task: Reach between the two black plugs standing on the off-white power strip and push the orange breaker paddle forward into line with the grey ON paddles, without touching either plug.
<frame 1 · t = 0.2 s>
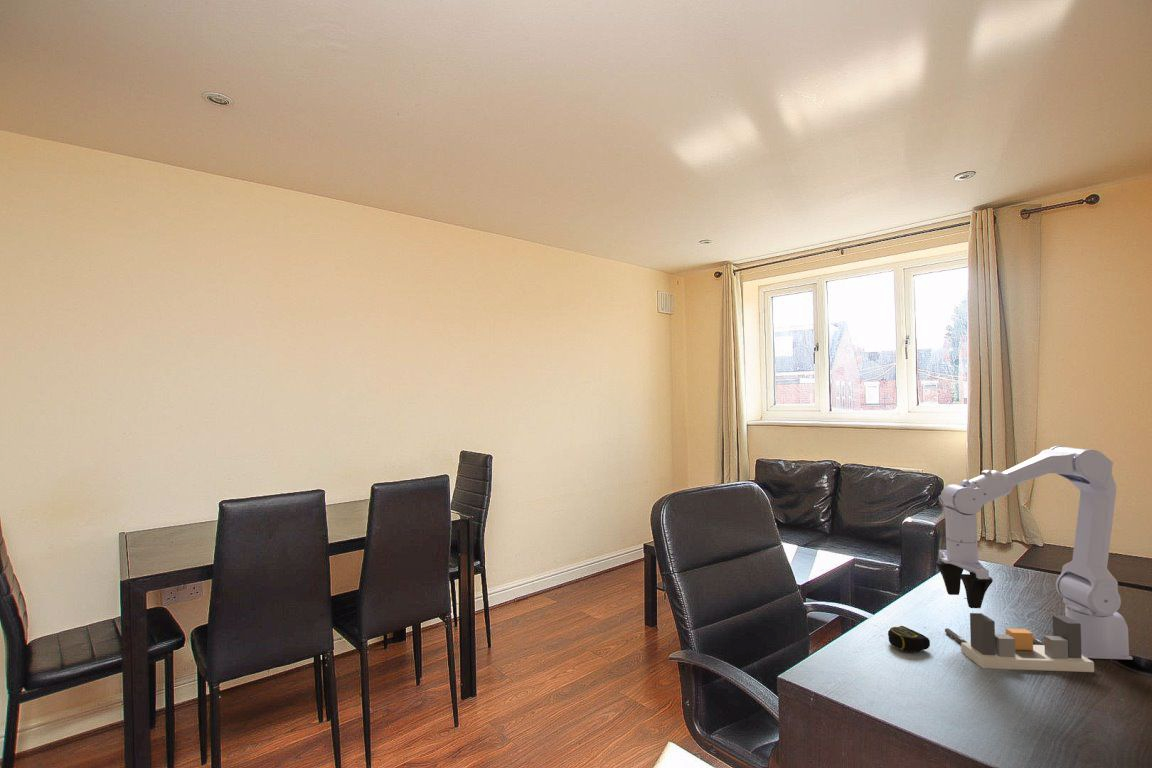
hand: (963, 600, 119), 10 cm above the table, fingers open, 7 cm apart
tape measure: (907, 648, 119), on the table
near plug: (1067, 653, 111), point 2 cm above the table, touching power strip
far plug: (982, 650, 113), point 2 cm above the table, touching power strip
power strip: (1025, 661, 112), on the table
breaker paddle: (1019, 639, 113), point 4 cm above the table, slide at 0.0 cm
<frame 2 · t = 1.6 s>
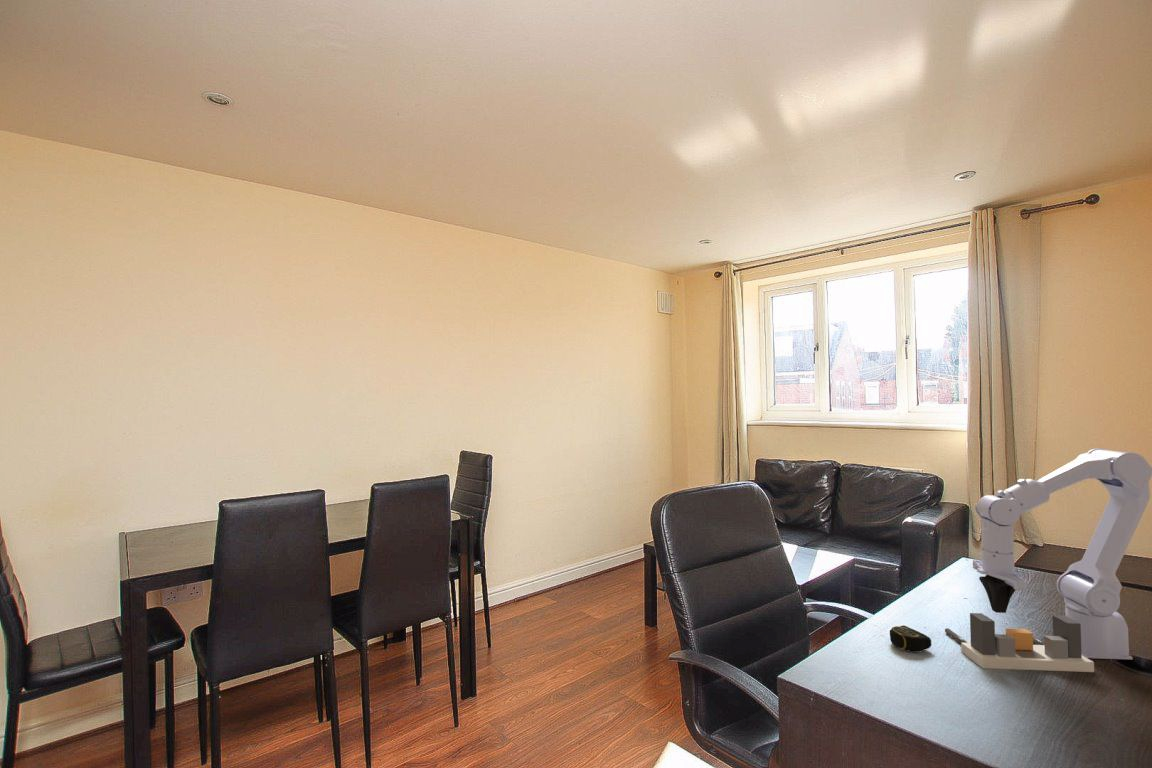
hand: (998, 611, 119), 7 cm above the table, fingers closed
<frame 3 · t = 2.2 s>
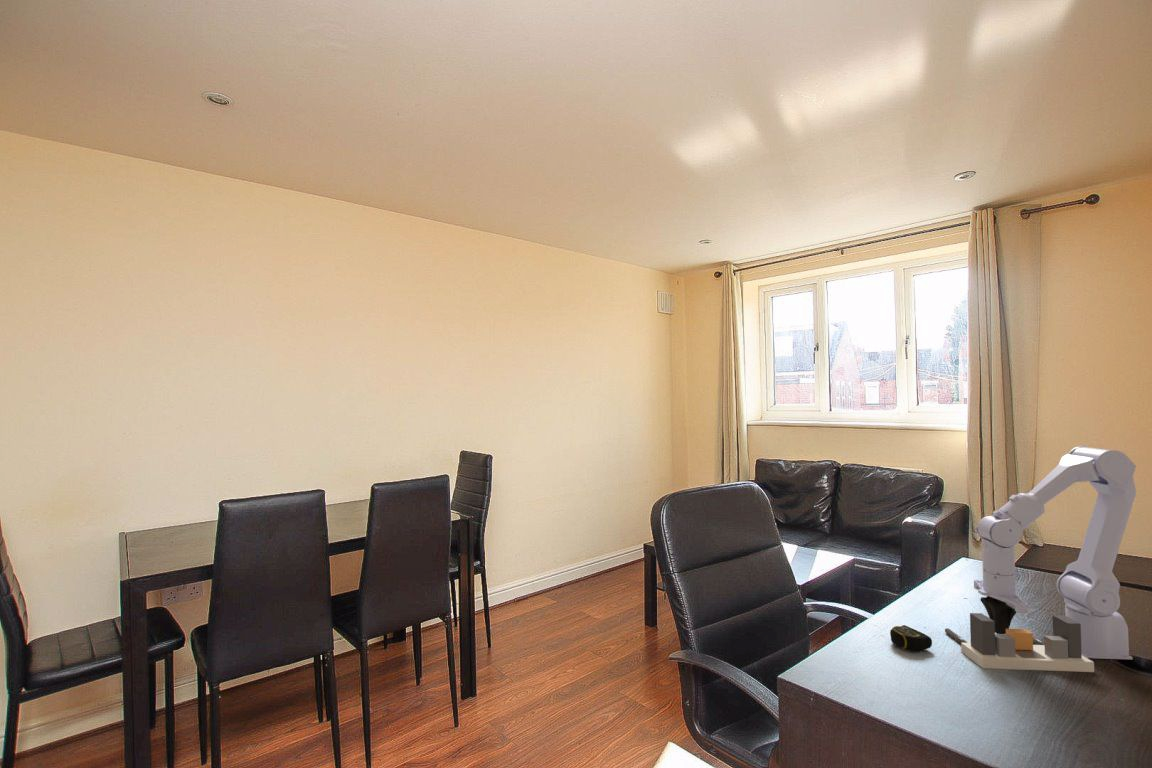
hand: (1000, 632, 119), 3 cm above the table, fingers closed
nothing on the table moved.
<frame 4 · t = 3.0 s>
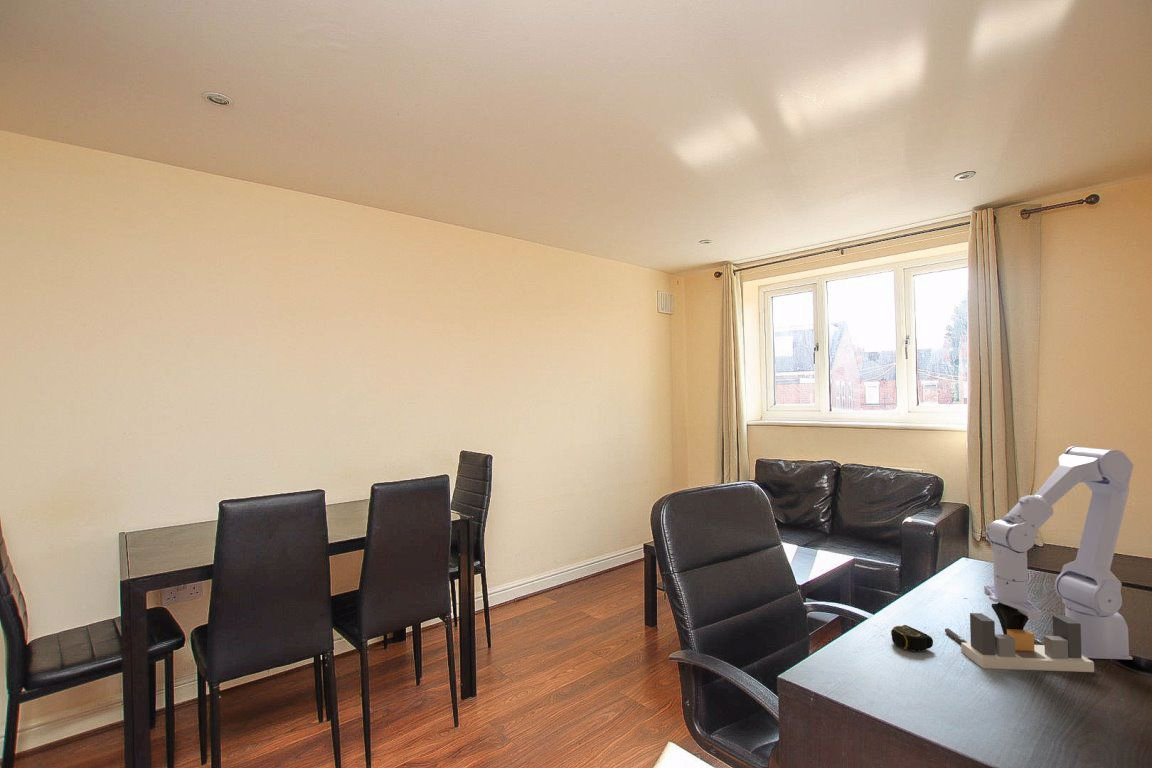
hand: (1012, 640, 115), 3 cm above the table, fingers closed
breaker paddle: (1020, 640, 113), point 4 cm above the table, slide at 0.4 cm, touching gripper
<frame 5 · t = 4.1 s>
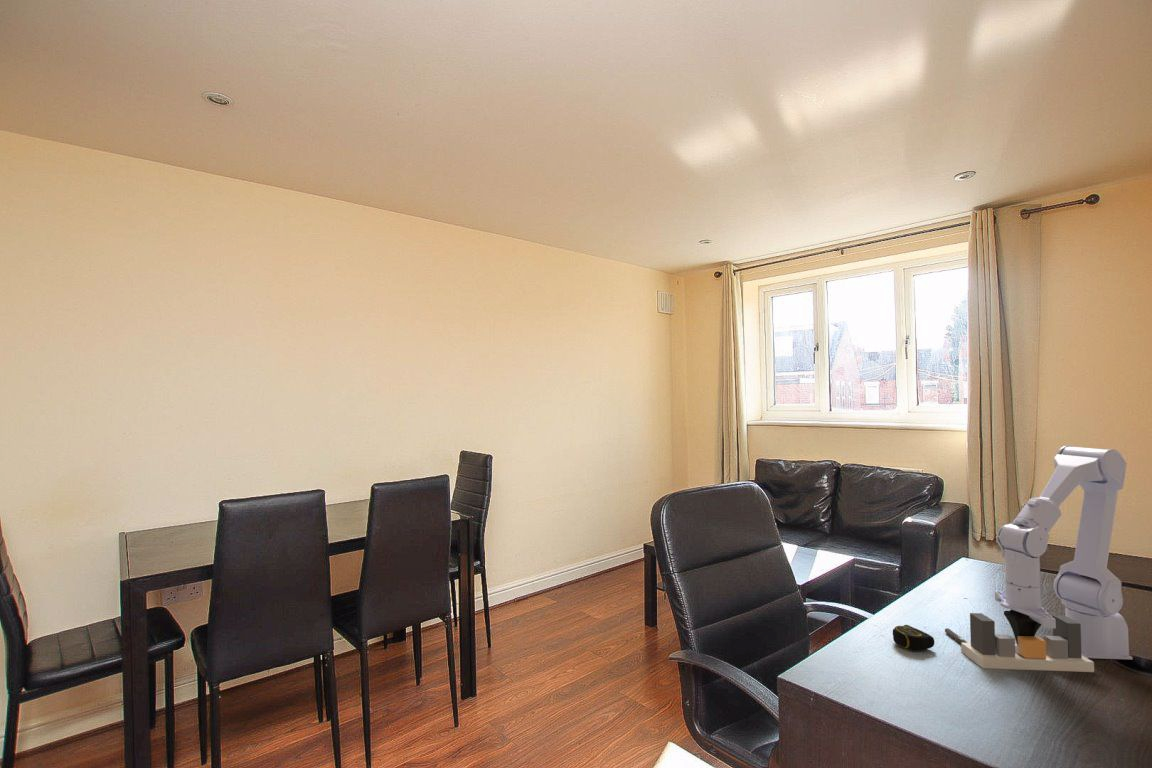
hand: (1024, 648, 112), 3 cm above the table, fingers closed
breaker paddle: (1031, 647, 110), point 4 cm above the table, slide at 3.5 cm, touching gripper
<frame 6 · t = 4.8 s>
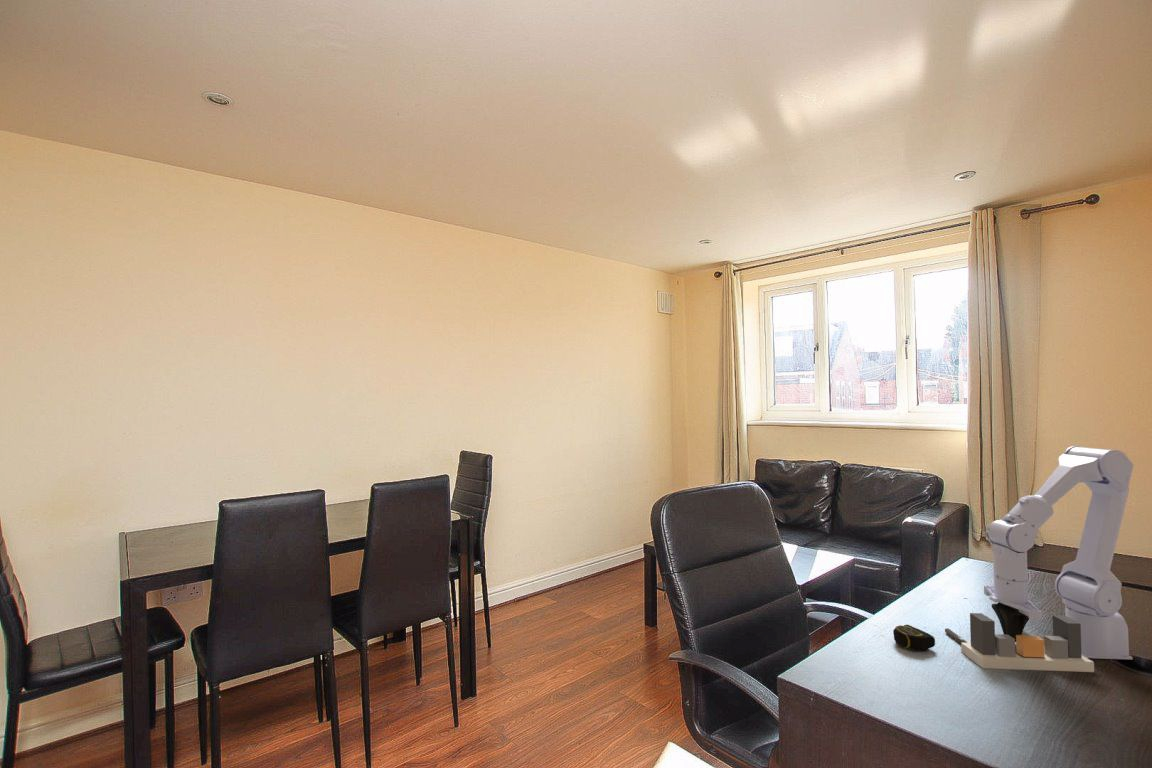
hand: (1012, 640, 115), 3 cm above the table, fingers closed
breaker paddle: (1030, 646, 110), point 4 cm above the table, slide at 3.1 cm
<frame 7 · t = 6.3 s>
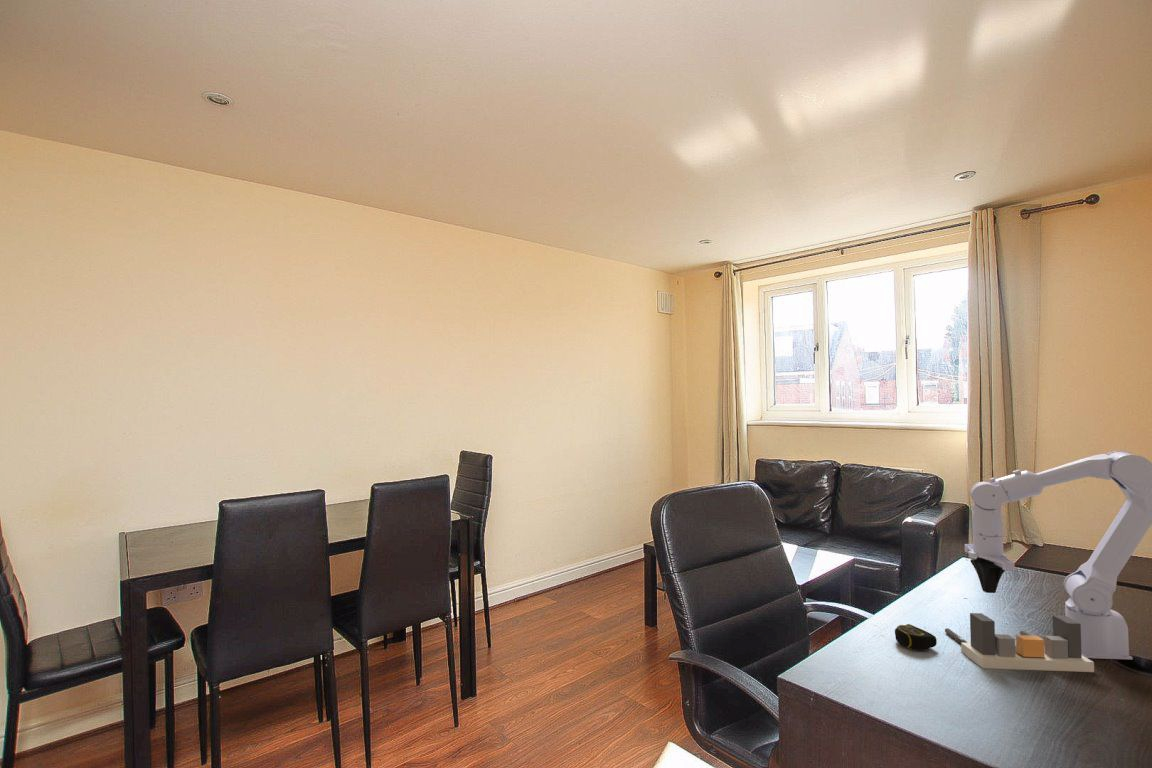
hand: (989, 591, 126), 9 cm above the table, fingers closed
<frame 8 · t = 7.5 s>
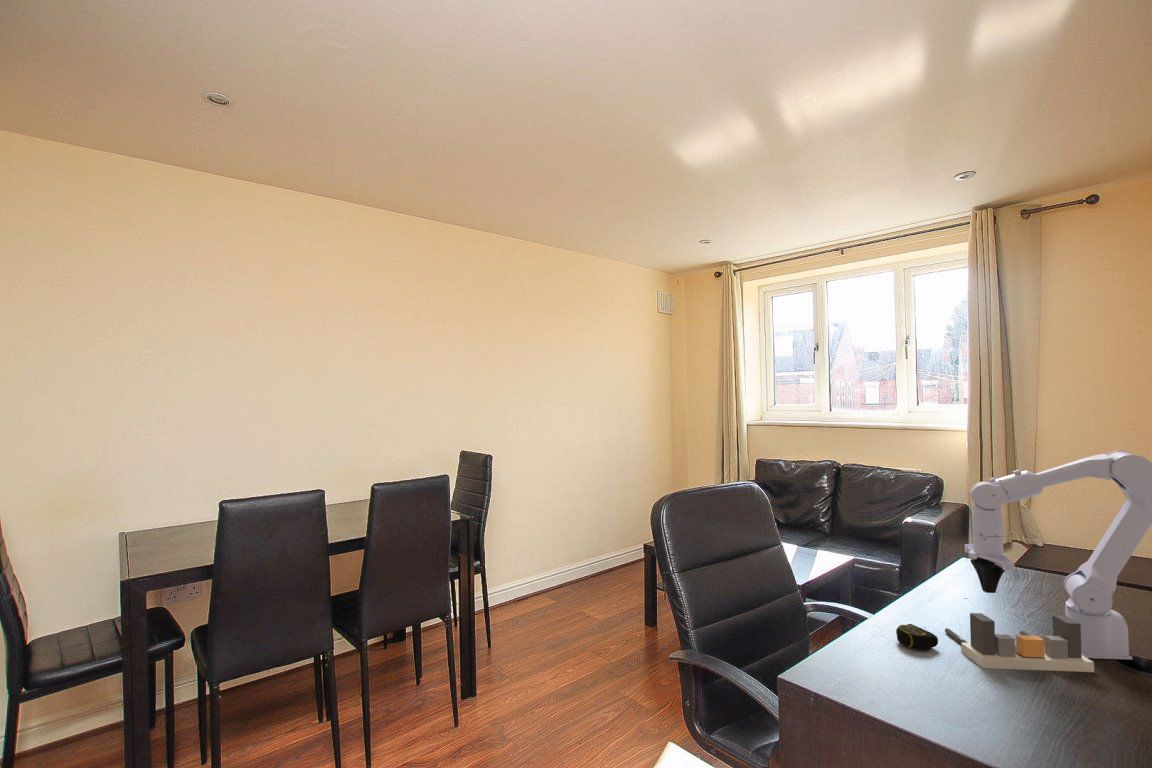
hand: (989, 591, 126), 9 cm above the table, fingers closed
at the end: breaker paddle slide at 3.1 cm; near plug moved 0.0 cm from its start; far plug moved 0.0 cm from its start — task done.
